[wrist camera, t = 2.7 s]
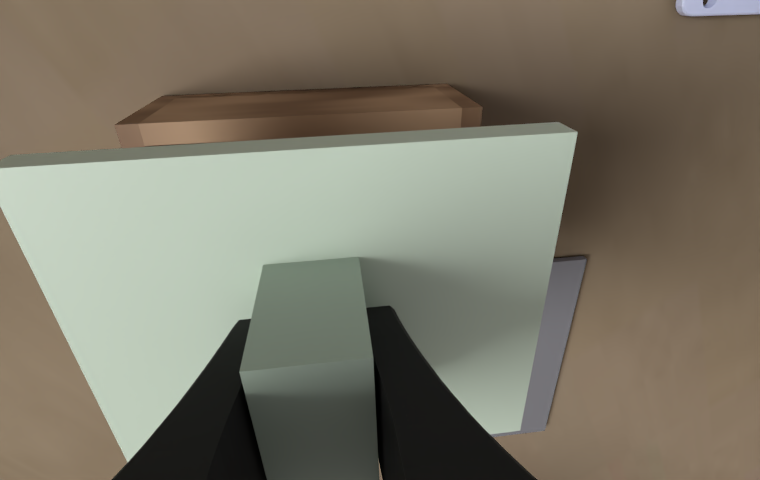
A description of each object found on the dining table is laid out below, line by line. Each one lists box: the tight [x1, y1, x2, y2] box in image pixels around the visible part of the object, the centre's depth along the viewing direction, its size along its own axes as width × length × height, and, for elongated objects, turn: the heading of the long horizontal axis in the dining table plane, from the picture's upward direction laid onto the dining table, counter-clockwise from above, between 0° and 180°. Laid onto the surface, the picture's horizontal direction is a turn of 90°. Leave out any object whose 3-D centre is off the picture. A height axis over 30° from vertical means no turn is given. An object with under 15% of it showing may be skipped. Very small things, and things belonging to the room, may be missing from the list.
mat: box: [490, 256, 587, 437], centre depth 23 cm, size 14×12×1 cm
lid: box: [0, 122, 578, 480], centre depth 9 cm, size 11×9×4 cm
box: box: [115, 84, 483, 148], centre depth 16 cm, size 10×8×4 cm
